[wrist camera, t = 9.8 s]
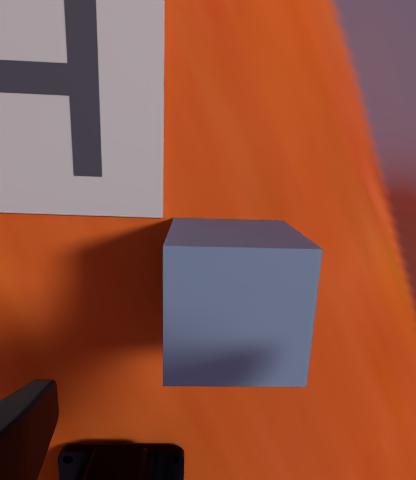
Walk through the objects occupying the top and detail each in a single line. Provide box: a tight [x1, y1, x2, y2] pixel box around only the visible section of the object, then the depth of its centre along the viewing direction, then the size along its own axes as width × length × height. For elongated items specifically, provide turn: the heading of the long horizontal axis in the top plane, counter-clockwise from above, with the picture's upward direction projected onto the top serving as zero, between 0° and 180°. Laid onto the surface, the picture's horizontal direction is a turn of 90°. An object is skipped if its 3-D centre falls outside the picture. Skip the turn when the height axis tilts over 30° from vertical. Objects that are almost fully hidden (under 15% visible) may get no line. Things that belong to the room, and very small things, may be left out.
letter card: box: [0, 0, 165, 218], centre depth 13 cm, size 11×12×1 cm
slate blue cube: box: [163, 218, 323, 387], centre depth 13 cm, size 5×5×5 cm
